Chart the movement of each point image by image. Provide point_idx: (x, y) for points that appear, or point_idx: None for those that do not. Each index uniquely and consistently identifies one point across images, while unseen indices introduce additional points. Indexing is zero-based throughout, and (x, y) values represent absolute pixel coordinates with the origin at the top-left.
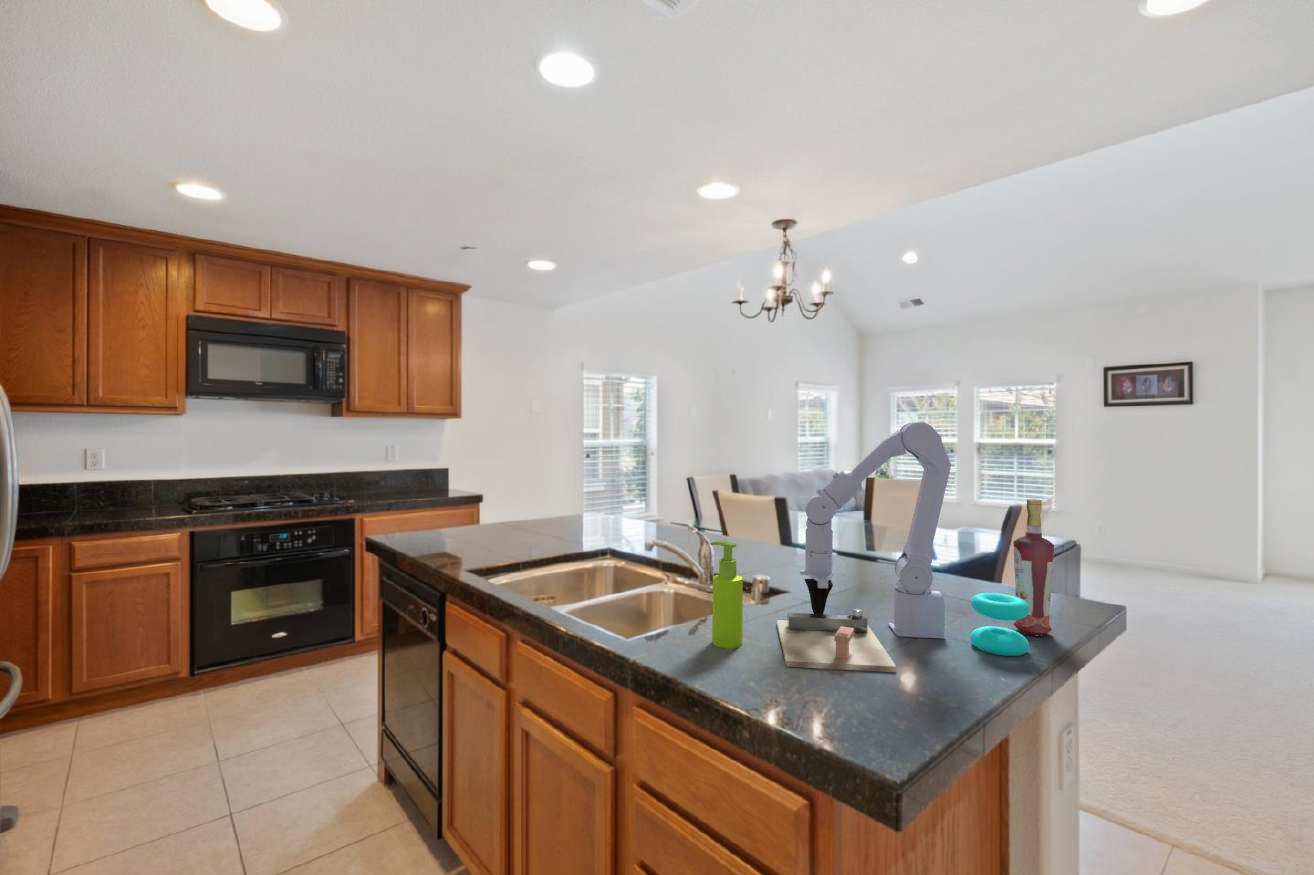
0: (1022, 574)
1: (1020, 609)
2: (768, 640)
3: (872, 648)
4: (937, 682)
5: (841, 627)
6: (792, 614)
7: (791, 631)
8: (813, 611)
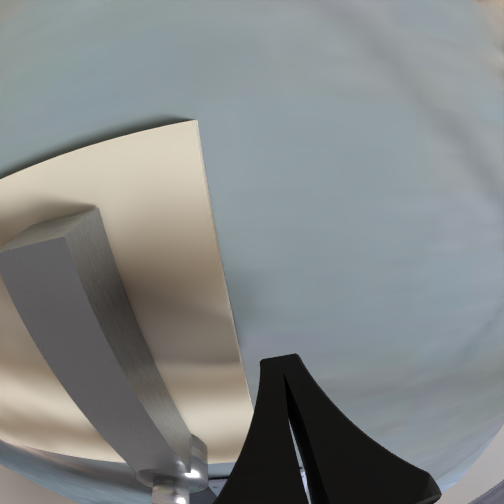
0: None
1: None
2: None
3: (49, 439)
4: (15, 455)
5: None
6: (45, 273)
7: None
8: (261, 368)
